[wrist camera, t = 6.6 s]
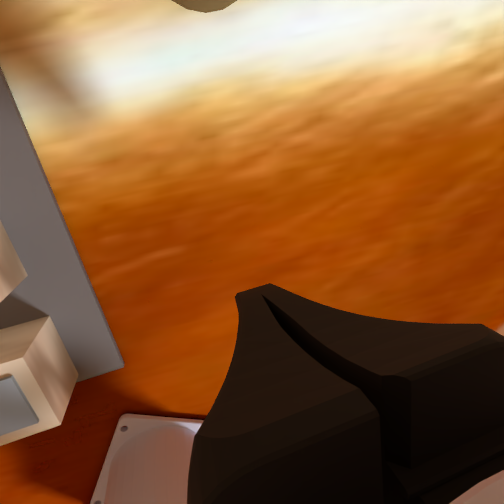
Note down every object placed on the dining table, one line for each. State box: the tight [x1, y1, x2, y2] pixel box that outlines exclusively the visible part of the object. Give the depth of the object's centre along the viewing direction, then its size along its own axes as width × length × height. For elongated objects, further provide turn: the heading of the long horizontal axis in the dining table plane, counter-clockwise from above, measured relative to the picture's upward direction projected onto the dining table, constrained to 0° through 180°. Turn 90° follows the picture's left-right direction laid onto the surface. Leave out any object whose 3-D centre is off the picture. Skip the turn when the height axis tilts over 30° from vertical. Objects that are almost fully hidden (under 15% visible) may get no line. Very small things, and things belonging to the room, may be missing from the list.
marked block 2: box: [0, 316, 79, 446], centre depth 17 cm, size 4×4×4 cm
